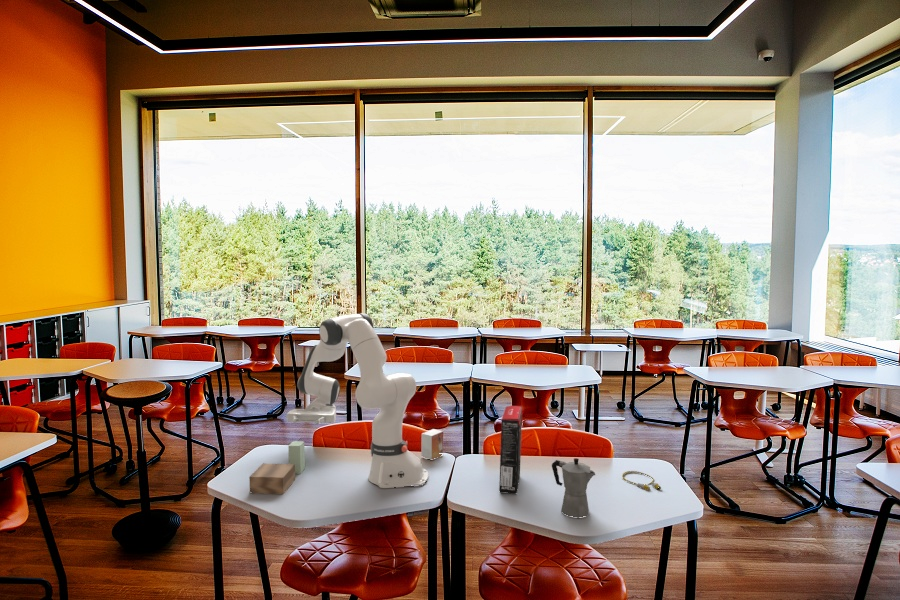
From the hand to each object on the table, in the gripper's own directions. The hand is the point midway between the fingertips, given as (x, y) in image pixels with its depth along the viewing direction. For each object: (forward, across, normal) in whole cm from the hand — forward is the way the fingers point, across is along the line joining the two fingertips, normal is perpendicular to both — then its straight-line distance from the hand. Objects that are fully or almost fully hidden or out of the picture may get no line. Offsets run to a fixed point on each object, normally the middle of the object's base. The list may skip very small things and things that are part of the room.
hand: (305, 422), depth 219 cm
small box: (-6, +51, +15) cm, 54 cm away
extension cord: (+13, +131, +14) cm, 132 cm away
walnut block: (+26, -4, +15) cm, 31 cm away
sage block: (+12, 0, +16) cm, 20 cm away
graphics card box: (+19, +82, +14) cm, 86 cm away
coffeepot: (+38, +102, +14) cm, 109 cm away
